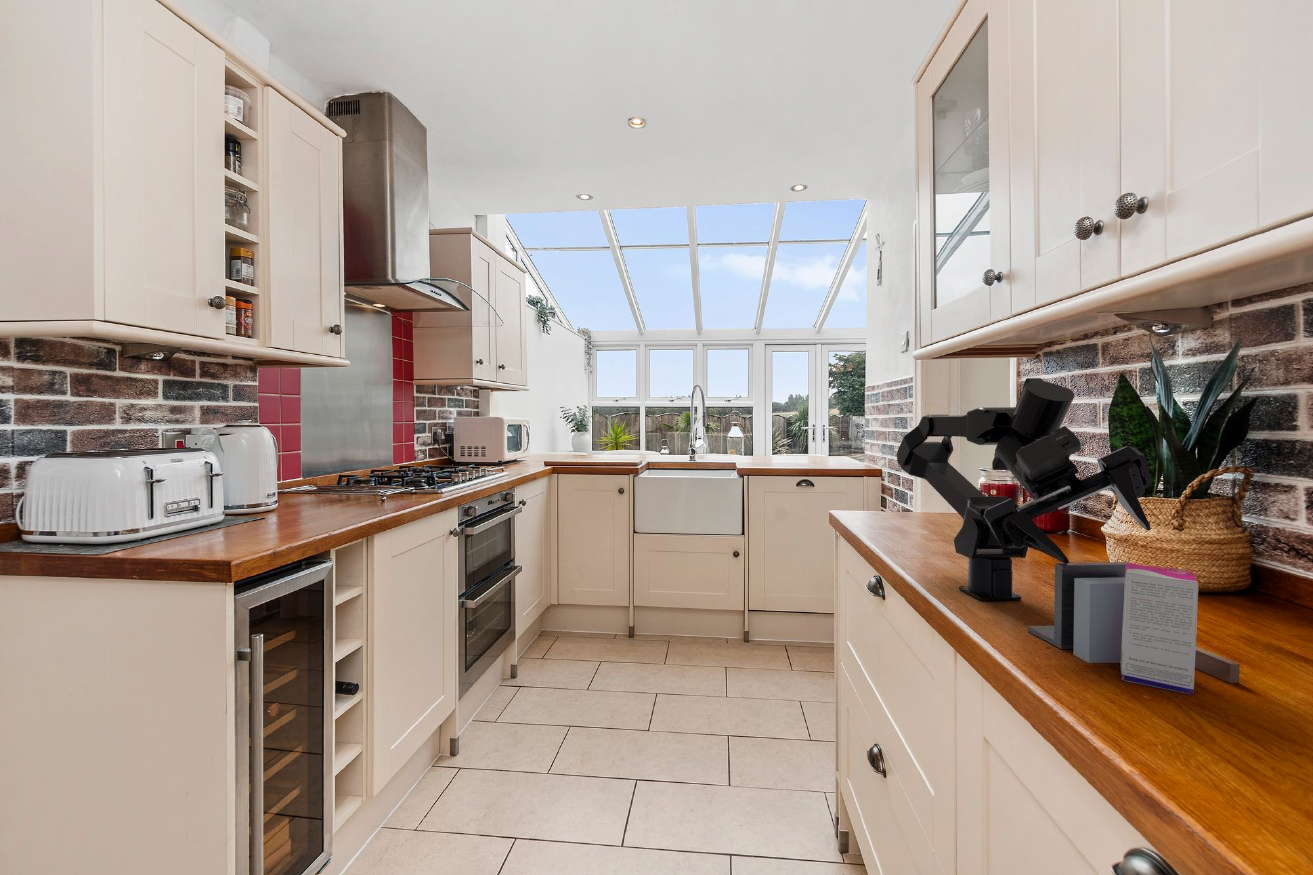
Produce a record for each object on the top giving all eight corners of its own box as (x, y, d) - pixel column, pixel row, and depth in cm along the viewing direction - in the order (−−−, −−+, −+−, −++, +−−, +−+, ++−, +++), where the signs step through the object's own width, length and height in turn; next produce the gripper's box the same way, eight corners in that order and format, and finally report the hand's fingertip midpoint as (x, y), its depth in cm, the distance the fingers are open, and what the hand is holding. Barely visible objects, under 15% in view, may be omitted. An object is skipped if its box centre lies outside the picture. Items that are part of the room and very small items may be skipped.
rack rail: (1114, 631, 77) (1114, 616, 77) (1121, 631, 77) (1122, 616, 77) (1229, 683, 62) (1230, 664, 62) (1239, 683, 62) (1239, 663, 62)
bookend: (1027, 630, 77) (1027, 553, 77) (1095, 629, 77) (1096, 552, 77) (1061, 648, 71) (1062, 565, 70) (1134, 647, 71) (1136, 564, 71)
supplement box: (1197, 696, 59) (1199, 581, 58) (1120, 680, 62) (1122, 572, 62) (1190, 676, 63) (1192, 569, 63) (1120, 662, 67) (1121, 561, 67)
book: (1073, 654, 69) (1074, 578, 69) (1140, 653, 70) (1141, 577, 69) (1088, 663, 67) (1090, 583, 67) (1158, 661, 67) (1159, 582, 67)
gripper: (948, 458, 81) (1006, 539, 68) (1090, 388, 76) (1183, 462, 63) (974, 508, 87) (1033, 591, 74) (1109, 446, 81) (1198, 525, 68)
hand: (1107, 545), depth 69 cm, fingers open, 9 cm apart
